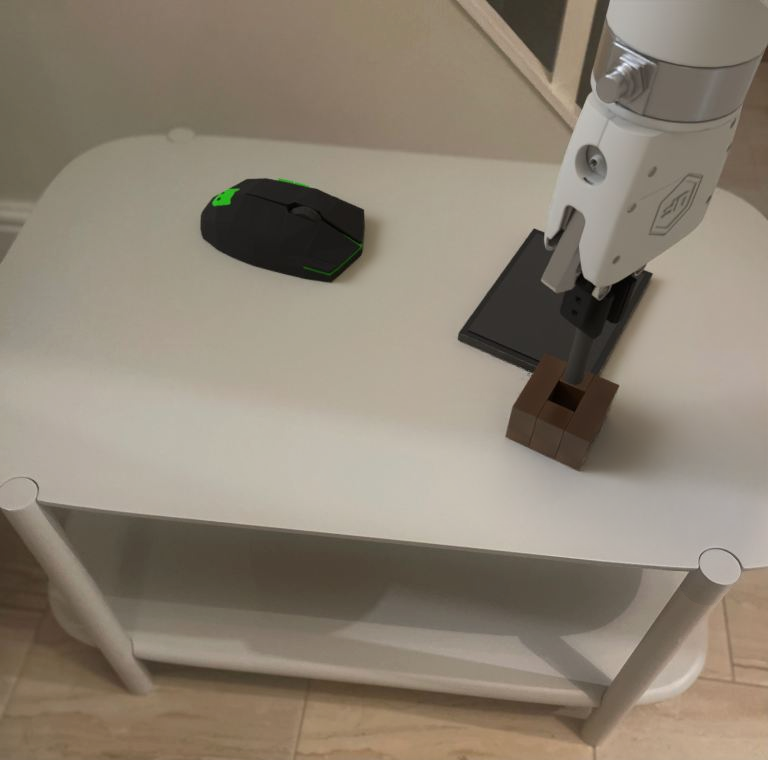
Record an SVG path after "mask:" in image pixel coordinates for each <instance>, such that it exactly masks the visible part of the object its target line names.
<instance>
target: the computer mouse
mask: <svg viewBox="0 0 768 760" xmlns="http://www.w3.org/2000/svg"><path fill="white" fill-rule="evenodd" d="M199 222H200V224H199V225H200V226H199V228H200V234H201V236H202V239H203V240H204V241H206V242H207V243H208V244H210V246H212V247H213V248H215V250H217V251H219V252H220V253H223V254H225V255H227V256H228V257H230V258H233V259H235V260H238V261H240V262H242V263H245V264H248V265H251V266H254V267H257V268H259V269H260V268H261V269H264V270H268V271H272V272H276V273H280V274H284V275H288V276H293V277H296V278H300V279H305V280H311V281H319V282H324V283H325V282H326V283H332V282H333V281H334V280H336V279H337V278H338V277H339V276H340V275H342V273H344V272H345V271H346V270H347V269H348V268H350V266H351V265H353V263H354V262H355V261H356V260H358V259H359V258H360V257H361V256H362V254H363V249H364V239H365V236H364V235H365V209H364V208H361V207H359V206H357V205H355V204H353V203H350V202H347V201H346V200H343V199H341V198H339V197H337V196H334V195H331V194H329V193H327V192H326V191H323V190H321V189H318V188H316V187H310V186H309V185H307V184H304V183H301V182H298V181H295V182H294V181H293V180H289V179H284V178H278V179H273V178H268V177H263V178H260V177H258V178H246V179H244V180H242V181H240V182H238V183H237V184H235V185H233V186H231V187H229V188H227V189H225V190H223V191H222V192H219V193H218V194H216V195H215V196H213V197H211V199H210V201H209V202H208V203H207V204H206V206H205V207H204V208H203V210H202V211H201V213H200V219H199Z"/></svg>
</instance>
